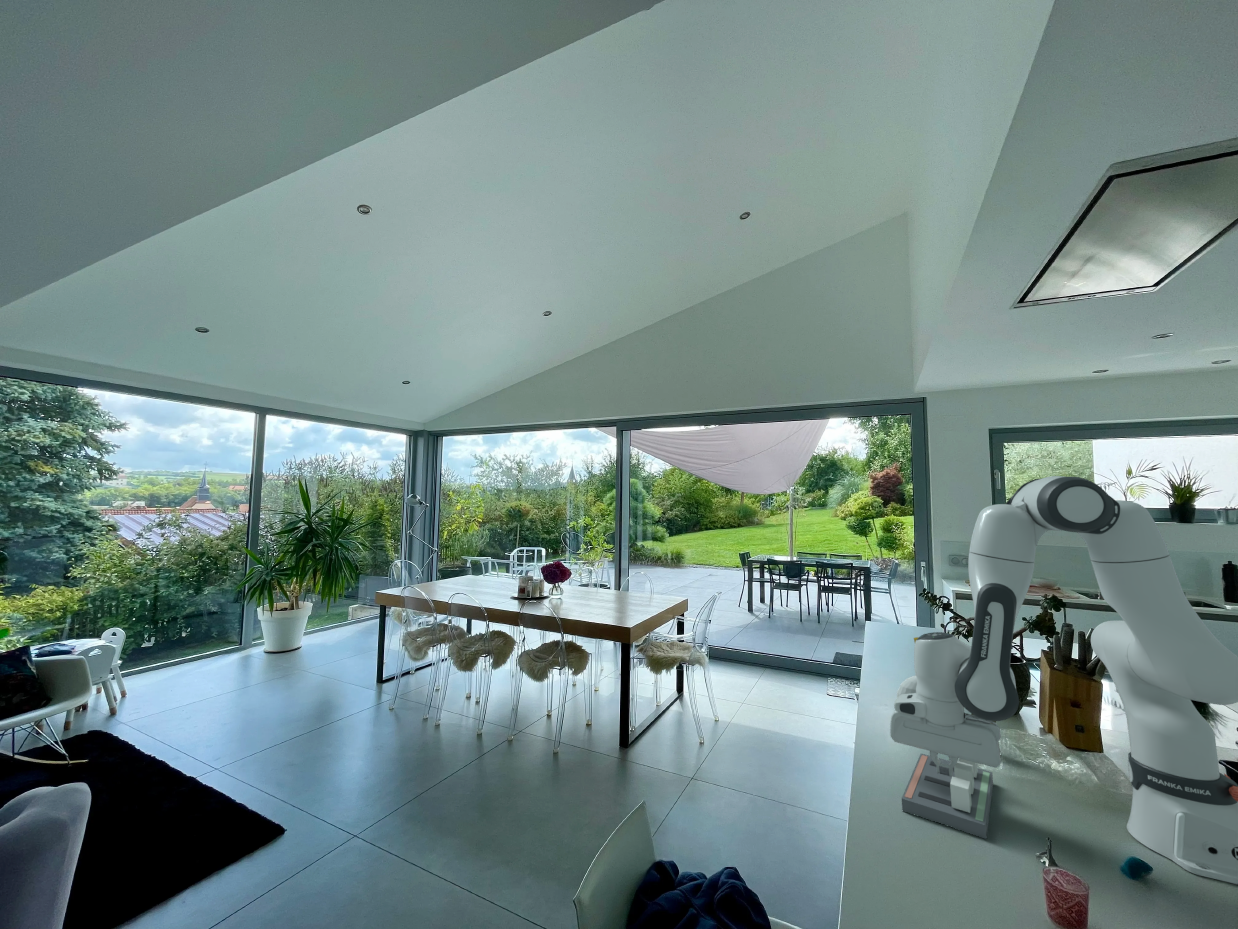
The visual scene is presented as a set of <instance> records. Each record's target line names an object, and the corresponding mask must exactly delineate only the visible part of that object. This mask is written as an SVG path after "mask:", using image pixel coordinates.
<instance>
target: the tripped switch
mask: <svg viewBox="0 0 1238 929" xmlns="http://www.w3.org/2000/svg"><path fill="white" fill-rule="evenodd" d="M954 773H955V777H956V778H960V779H963V780H967V781H970V789H971V794H973V791H974V775H973V765H970V764H967V763H963V762H959V760H957V763H956V765H955V766H954Z"/></svg>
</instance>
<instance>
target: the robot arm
mask: <svg viewBox="0 0 1238 929" xmlns="http://www.w3.org/2000/svg"><path fill="white" fill-rule="evenodd" d="M1048 531H1059V532H1060V531H1061V532H1062V531H1063V532H1069V533H1078V535H1079V536H1080V537H1081V538H1082V540H1083V542H1084V544H1085V545H1086V547H1087V551H1088V552H1087V553H1088V556H1089V559H1090V562H1091V565H1092V569H1093V572H1094V575H1095V579H1096V581H1097V584H1098V587H1099V588H1098V589H1099V591H1100V594H1101V597H1102V598H1103V599H1104V601H1105V602H1106V603H1107V604H1108V605H1109V607H1111V608H1112V609H1113V610H1114V611H1116V613H1117V614H1118V615H1119V617H1121V619H1122V620H1108V621H1107V620H1106V621H1104V622H1101V623H1100V624H1098V625H1097V626H1096V627H1095V628H1094V629H1093V630H1092V633H1091V634H1090V635H1091V636H1090V644H1091V649H1092V651H1093V653H1094V654H1095V655H1096V657H1097V658H1098V659H1099V660H1100V661H1101V662H1102V663H1103V665H1104V666H1105V668H1106V669H1107V672H1108V674H1109V675H1110V677H1111V679H1112V681H1113V684H1114V686H1115V688H1116V691H1117V693H1118V696H1119V699H1120V700H1121V703H1122V706H1123V710H1124V713H1125V717H1126V723H1127V731H1128V738H1129V740H1128V741H1129V747H1130V748H1129V749H1130V752H1128V754H1127V755H1128V757H1127V758H1128V759H1127V768H1128V775H1129V776H1128V777H1129V782H1130V784H1131V786H1132V801H1131V808H1130V814H1129V816H1128V821H1127V823H1126V830H1127V831H1128V833H1129V834H1130V835H1131V836H1132V838H1134V839H1135V840H1136V841H1137V842H1139V843H1141V844H1142V845H1143V846H1145V847H1147V848H1149V849H1151V850H1152V851H1154V852H1156V853H1158V854H1160V855H1162V856H1163V857H1165V858H1167V859H1170V860H1171V861H1173V863H1175V864H1177V865H1178V866H1179V867H1181V868H1183V869H1184V870H1186V871H1187V872H1190V873H1192V874H1195V875H1197V876H1202V877H1205V878H1210V879H1215V880H1218V881H1221V882H1226V883H1231V884H1234V885H1238V783H1237V782H1235V781H1234V780H1233V779H1231V777H1230V776H1228V775H1227V774H1226V773H1224V774H1223V773H1221V772H1220V767H1219V758H1218V750H1217V742H1216V733H1215V731H1214V730H1213V728H1212V726H1211V725H1210V723H1209V722H1208V721H1207V720H1206V719H1205V718H1204V717H1203V716H1202V714H1200V712H1199V711H1198V710H1197V708H1196V706H1195V705H1194V703H1193V702H1192V701H1196V702H1201V703H1205V704H1212V705H1218V706H1228V705H1233V704H1237V703H1238V655H1237V654H1235V653H1234V652H1233V651H1231V650H1230V649H1229V648H1228V647H1226V646H1225V645H1224V644H1223V643H1222V642H1221V641H1220V640H1219V639H1218V638H1217V637H1216V636H1215V635H1214V634H1213V633H1212V632H1211V630H1210V629H1209V627H1208V626H1207V625H1206V624H1205V623H1204V622H1203V620H1202V618H1201V617H1200V616H1199V614H1198V613H1197V612H1196V610H1195V609H1194V607H1193V606H1192V605H1191V603H1190V602H1189V600H1188V597H1187V596H1186V595H1185V592H1184V590H1183V587H1182V584H1181V582H1180V579H1179V577H1178V575H1177V571H1176V569H1175V566H1174V562H1173V561H1172V560H1173V559H1172V557H1171V554H1170V552H1169V548H1168V546H1167V544H1166V541H1165V539H1164V536H1163V535H1162V533H1161V531H1160V529H1159V527H1158V525H1157V524H1156V521H1155V519H1154V518H1153V516H1152V515H1151V513H1150V512H1149V510H1148V509H1147V508H1146V507H1145V506H1143V505H1141V504H1139V503H1136V502H1134V501H1128V500H1122V499H1120V500H1119V499H1117V500H1115V499H1114V498H1113V496H1110V494H1108V492H1106V491H1105V490H1104V489H1103V488H1102V487H1101V486H1100V485H1098V484H1097V483H1095V482H1093V481H1091V480H1089V479H1087V478H1084V477H1079V476H1066V475H1063V476H1061V475H1053V476H1051V475H1050V476H1046V477H1043V478H1040V477H1039V478H1036V479H1035V478H1034V479H1032V480H1029V481H1027V482H1026V483H1023V484H1022V485H1021V486H1020V487H1019V488H1018V489H1017V490H1016V491H1015V492H1014V494H1013V495H1012V496H1011V497H1010V498H1009V499H1008V500H1007V501H1006V503H1000V504H999V503H998V504H992V505H988V506H986V507H984V508H983V509H981V510H980V512H979V513H978V516H977V518H976V521H975V524H974V527H973V531H972V533H971V534H972V535H971V538H970V543H969V544H970V545H969V550H968V551H969V552H968V560H967V561H968V562H967V564H968V565H967V566H968V569H967V570H968V580H969V587H970V592H971V598H972V602H973V609H974V621H973V629H972V630H973V632H972V640H971V645H969V644H968V643H965V642H963V641H961V640H960V639H959V638H957V637H956V636H955V635H954V634H951V633H948V632H942V631H936V632H935V631H934V632H927V633H924V634H921V635H920V636H918V637H919V638H918V639H917V640H916V642H914V649H913V664H914V665H913V667H914V669H913V670H914V674H916V676H917V686H916V693H911V694H901V695H900V696H898V697H897V696H896V698H895V700H894V703H893V707H894V711H893V712H892V715H891V717H890V724H889V725H890V726H889V728H890V729H889V733H890V738H891V739H892V740H893V741H894V743H898V744H901V745H906V746H909V747H914V748H917V749H922V750H926V751H928V752H929V756H930V757H931V758H932V760H933V761H934V763H935V764H936V767H937V773H940V774H944V775H947V776H951V777H952V776H953V767H954V766H955V765H956V763H957V761H959V758H960V759H963V760H967V761H971V762H975V763H977V764H980V765H984V766H987V767H992V768H998V767H999V766H1001V764H1002V758H1001V756H1002V754H1001V755H1000V752H1001V749H999V747H1000V744H998V743H999V741H1000V740H1001V738H1002V737H1001V728H1000V727H999V725H998V724H997V723H995V722H993V721H996V722H1001V721H1006V720H1009V719H1010V718H1012V717H1013V716H1014V715H1015V714H1016V713H1017V711H1018V709H1019V705H1020V699H1019V694H1018V691H1017V686H1016V677H1015V674H1014V670H1013V669H1012V667H1011V658H1012V646H1013V640H1014V639H1013V638H1014V630H1015V624H1016V621H1017V619H1018V618H1017V617H1018V615H1019V613H1020V610H1021V608H1022V606H1023V603H1024V601H1025V599H1026V596H1027V594H1028V591H1029V589H1030V586H1031V583H1032V579H1033V575H1034V571H1035V564H1036V563H1035V562H1036V553H1037V549H1036V548H1037V546H1038V543H1039V541H1040V539H1041V538H1042V537H1043V535H1044V534H1045V533H1047V532H1048ZM965 710H967V711H968V713H966V712H965ZM971 713H972V714H973V715H971ZM991 723H993V724H991ZM939 754H940V755H944V756H948V761H951V762H950V764H949V765H948V764H944V763H941V762H940V760H939V758H940V757H938V756H939Z"/></svg>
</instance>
